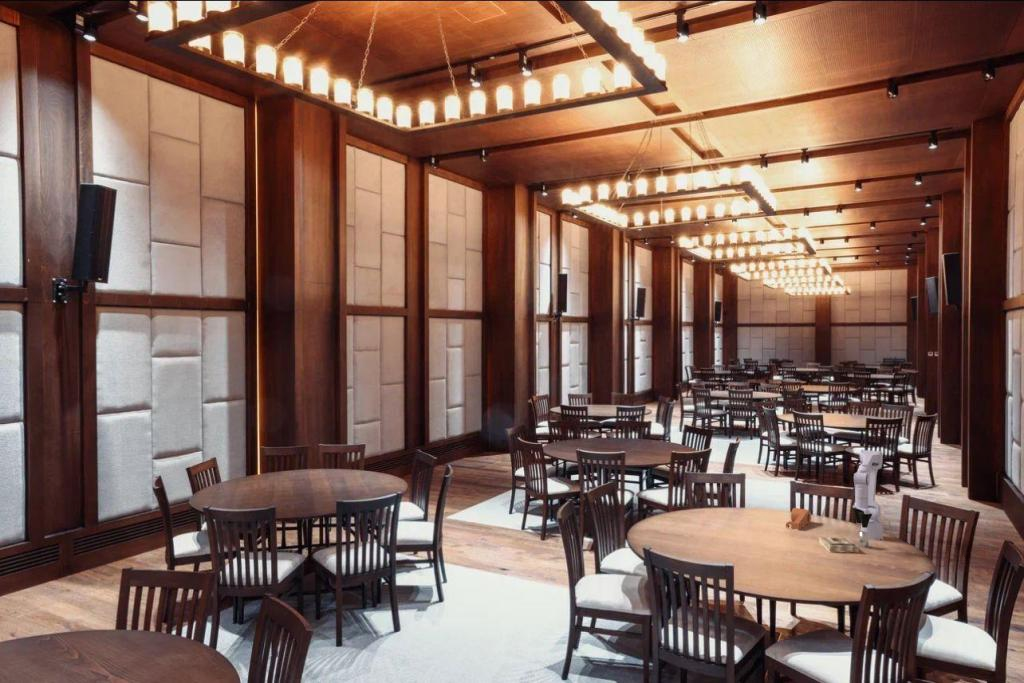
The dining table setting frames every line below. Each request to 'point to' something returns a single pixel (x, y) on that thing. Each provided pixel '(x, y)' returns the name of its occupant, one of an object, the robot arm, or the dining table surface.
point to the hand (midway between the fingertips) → (861, 525)
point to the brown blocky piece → (799, 518)
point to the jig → (838, 544)
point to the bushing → (863, 539)
